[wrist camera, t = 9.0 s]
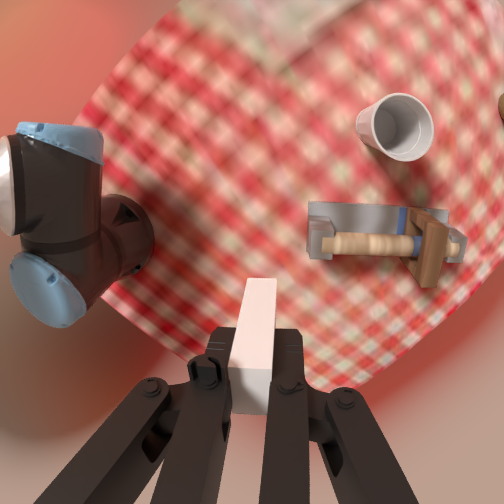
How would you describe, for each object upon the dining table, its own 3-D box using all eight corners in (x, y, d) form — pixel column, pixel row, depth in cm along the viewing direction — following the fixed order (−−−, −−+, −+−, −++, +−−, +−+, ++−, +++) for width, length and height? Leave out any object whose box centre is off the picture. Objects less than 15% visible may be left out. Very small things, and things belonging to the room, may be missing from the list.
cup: (408, 139, 40) (443, 145, 29) (365, 161, 42) (390, 172, 31) (384, 93, 37) (414, 83, 26) (340, 114, 40) (358, 109, 29)
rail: (306, 250, 49) (309, 274, 41) (308, 201, 45) (312, 216, 38) (439, 254, 46) (460, 276, 38) (447, 209, 43) (472, 226, 35)
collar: (399, 257, 46) (421, 287, 36) (407, 206, 42) (433, 227, 33) (412, 257, 45) (436, 287, 36) (421, 207, 42) (449, 228, 33)
